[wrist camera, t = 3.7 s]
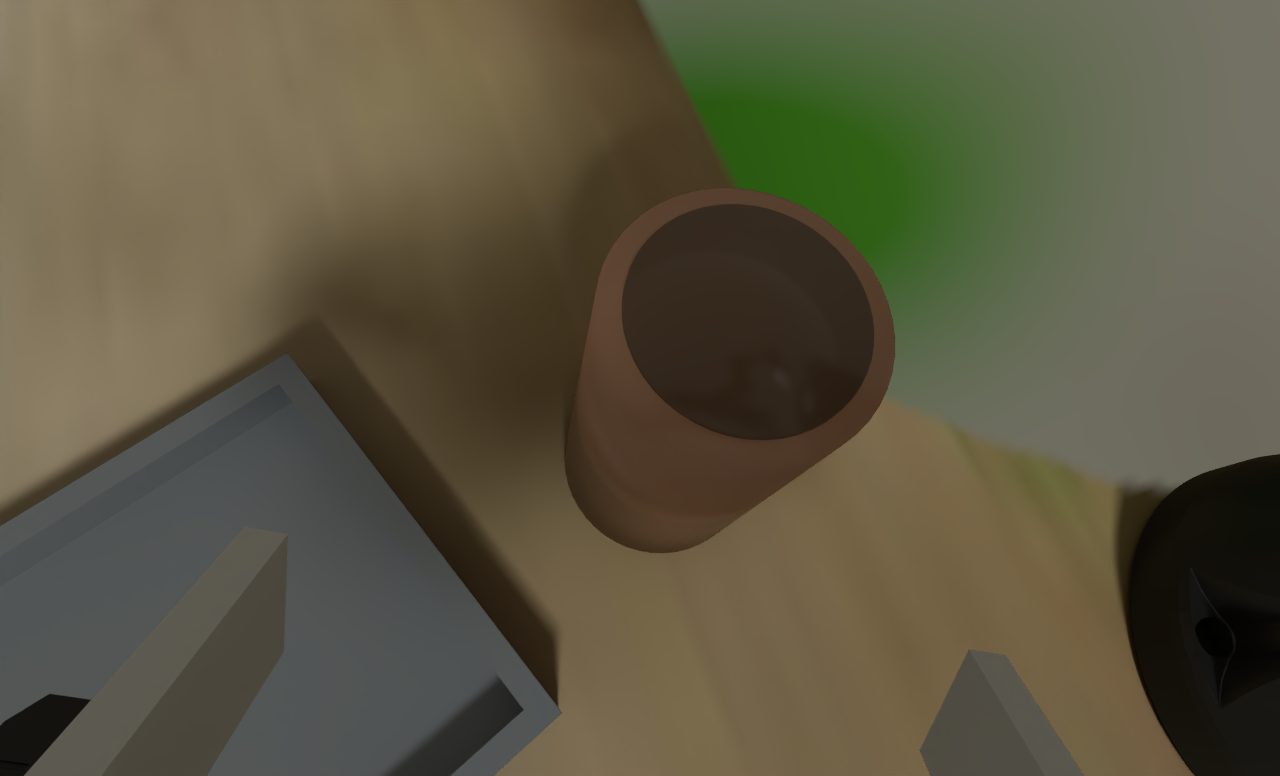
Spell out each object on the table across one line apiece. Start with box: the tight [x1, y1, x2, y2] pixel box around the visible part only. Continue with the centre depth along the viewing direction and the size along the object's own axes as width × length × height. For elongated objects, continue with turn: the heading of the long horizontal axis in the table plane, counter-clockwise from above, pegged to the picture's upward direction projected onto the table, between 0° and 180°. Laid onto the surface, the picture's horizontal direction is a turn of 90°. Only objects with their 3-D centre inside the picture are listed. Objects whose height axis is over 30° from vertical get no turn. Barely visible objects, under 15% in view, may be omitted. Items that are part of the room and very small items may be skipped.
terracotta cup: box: [565, 188, 895, 553], centre depth 22 cm, size 7×7×12 cm
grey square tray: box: [0, 353, 562, 776], centre depth 21 cm, size 15×18×2 cm
